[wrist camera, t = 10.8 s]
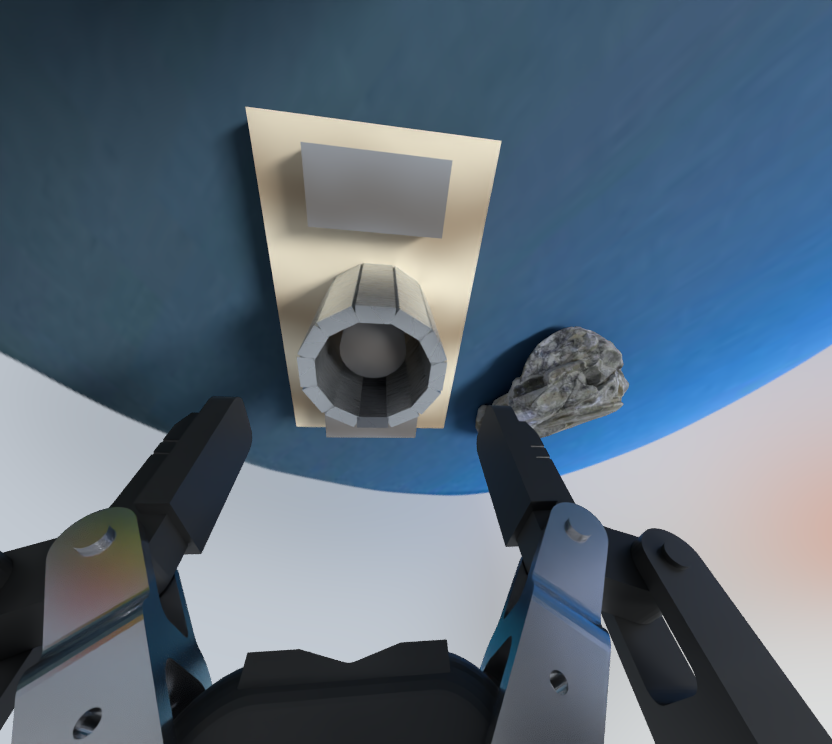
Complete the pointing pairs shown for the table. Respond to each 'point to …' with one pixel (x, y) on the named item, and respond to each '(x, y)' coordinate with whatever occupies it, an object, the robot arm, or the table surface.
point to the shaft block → (369, 235)
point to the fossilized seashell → (566, 382)
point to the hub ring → (382, 304)
